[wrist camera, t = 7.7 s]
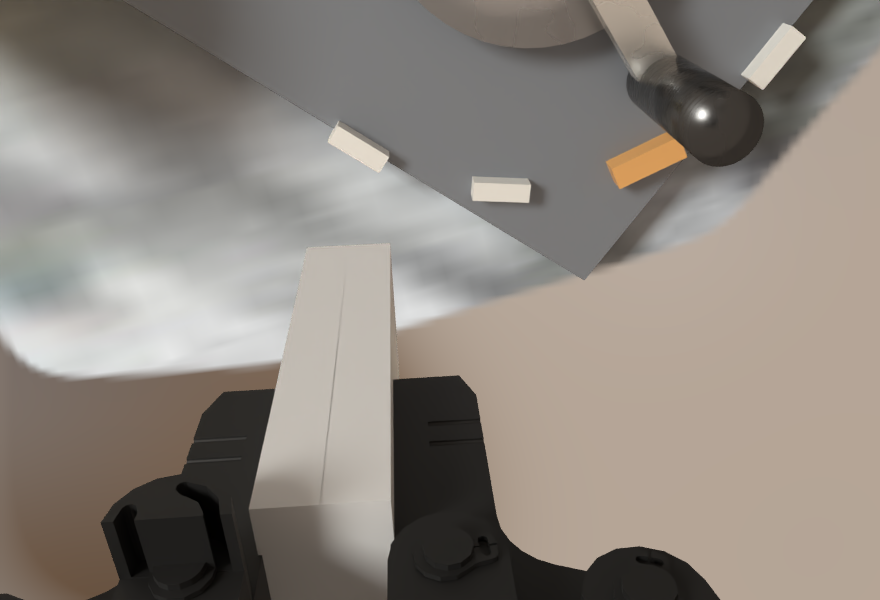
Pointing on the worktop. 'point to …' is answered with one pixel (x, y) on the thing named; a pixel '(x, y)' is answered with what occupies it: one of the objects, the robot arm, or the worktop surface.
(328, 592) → the robot arm
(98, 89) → the worktop surface
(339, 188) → the worktop surface
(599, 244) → the dial plate
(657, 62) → the dial
